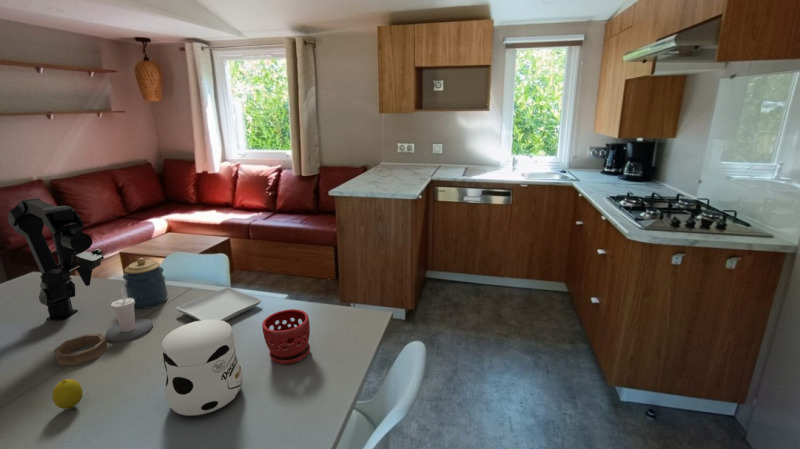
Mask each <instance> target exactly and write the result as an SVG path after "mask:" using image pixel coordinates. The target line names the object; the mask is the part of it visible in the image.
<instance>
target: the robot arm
mask: <svg viewBox="0 0 800 449" xmlns="http://www.w3.org/2000/svg"><path fill="white" fill-rule="evenodd" d="M7 221H8V224H9V225H10V227H12V228H13V230H14V232H15V233H17V234H19V235H21V236H22V237H24V238H25V241H26V243H27V245H28V247H29V249H30V252H31V254H32V257H33V258H34V260H35V263H36V264H37V266H38V269H39V271H40V273H41V275H40V280H41V281H40V283H39V287H40V292H39V294H38V301H39V302H40V304H41V305H44V306H46V307H47V311H48V315H49V316H48V317H46V318H45V319H46V321H59V320H60V321H61V320H67V319H68V318H70V317H71V316H73V315H74V314H75V313H77V312H78V309H74V308H73V305H72V301H71V298H75V297H76V284H75V283H74V282H73V280H72V277H71V274H72V273H71V272H73V271H74V270H76V272H77V274H78V275H79V277H80V278H81V280H82V282H83V284H84V285H85V287H88V286H90V285H91V280H92V274H93V271H94V270H93V269H95V268H97V267H100V266H101V263H102V261H103V260H104V259H105V257H104V253H103V250H102V249H100V248H96V249H94V250H93V251H88V250H89V249H90V248H91V247H92V245H93V237H91V235H89V233H86V232H84V231H83V228H85V226H84V221H83V219H82V218H81V216H80V215H79V213H77V211H76V210H75V209H74V208H72V207H71V206H68V205H58V206H57V205H56V206H55V205H53V204H51V203H49V202H46V201H43V200H41V199H40V198H37V197H34V198H27V199H22V200H20V201H19V202H18V205H16V206H14V207H13V208H12V209H11V210H9V212H8V215H7ZM44 226H46V227H47V229H48V230H49V232H50V233H51V235H52V239H53V240H52V241H53V243H54V247H55V251H51V249H50V247H49V245H48V242H47V240H46V238H45V236H44V233H43V230H44ZM54 256H57V259H58V263H57V262H56V260H55V258H54Z"/></svg>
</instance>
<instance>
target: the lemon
mask: <svg viewBox="0 0 800 449" xmlns="http://www.w3.org/2000/svg"><path fill="white" fill-rule="evenodd" d="M51 396H52V401H53V403H54V405H55V406H56V407H58V408H59V409H63V410H65V409H66V410H68V409H73V408H74V407H75V406H77V404H79V403H80V401H81V400H82V397H83V388H82V385H81V383H80V382H78V380H76V379H72V378H71V379H70V378H67V379H65V378H64V379H62V380H61V381H60V382H58V383H57V384H56V385H55V386H54V388H53V391H52V395H51Z"/></svg>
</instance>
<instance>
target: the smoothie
mask: <svg viewBox="0 0 800 449" xmlns="http://www.w3.org/2000/svg"><path fill="white" fill-rule="evenodd" d="M120 292H121V295H122V298H120V299H118V300H115V301H113V302H111V304H110V307H111V309H112V310H113V312H114V315H115V318H116V320H117V324H119V325H120V328H121V330H122V331H123V332H128V331H131V330H133V329H134V328H135V319H136V318H135V317H136V316H135V308H134V303H135V301H134V299H133V298H128V297H126V296H125V293H124V289H123V288H122V289H121V290H120Z"/></svg>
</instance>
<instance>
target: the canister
mask: <svg viewBox="0 0 800 449" xmlns="http://www.w3.org/2000/svg"><path fill="white" fill-rule="evenodd" d="M136 260H137V261H135V262H132V263H129V265H128V266H126V267H125V268H124V270H123V271H124V274H123V275H122V278H123V280H124V281H125V283H124V288H125V293H126V296H127V297H126V298H133V299H134V301H135V303H134V309H136V310H138V309H149V308H152V307H156V306H158V305H161V304H163V303H164V302H166V301H167V299H168V295H169V293H168V289H167V285H166V276H164V274H163V272H164V271H165V270H164V269H165V268H163V267H162V266H160V265H161V263H160V262H158V261H155V260H153V259H145V258H144V257H139V258H138V259H136Z"/></svg>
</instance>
